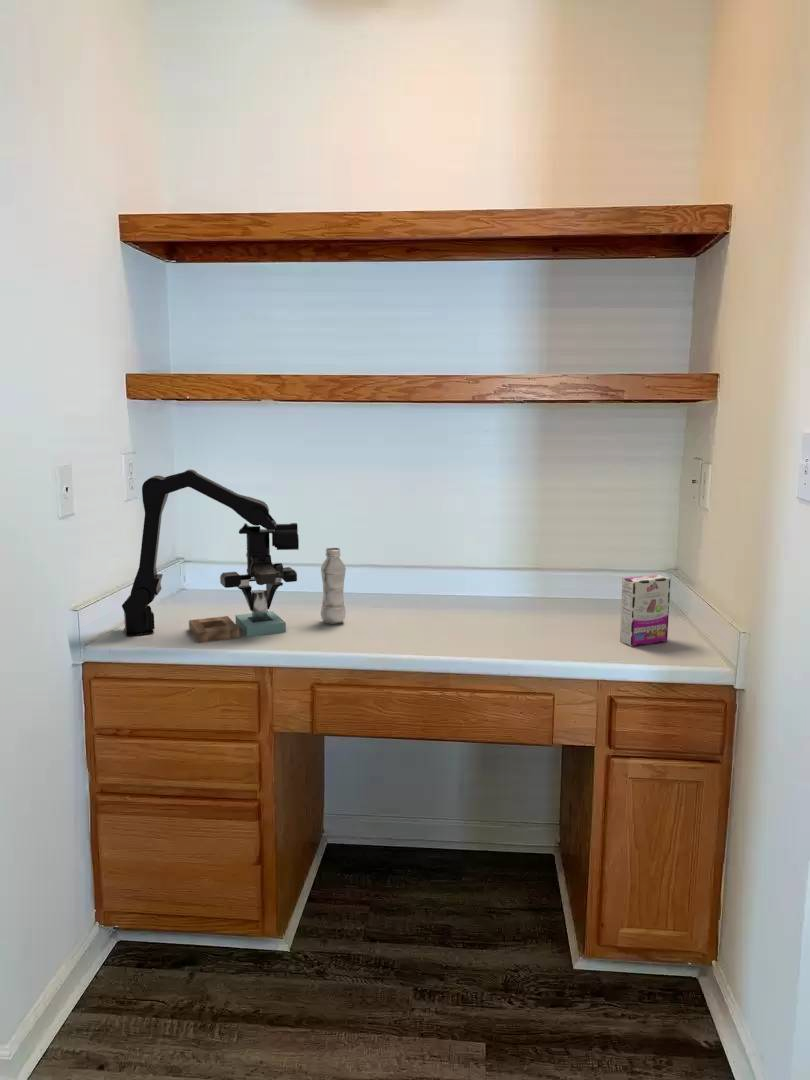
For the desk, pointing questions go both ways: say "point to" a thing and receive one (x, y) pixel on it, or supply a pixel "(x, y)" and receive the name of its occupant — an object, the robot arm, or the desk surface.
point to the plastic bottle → (333, 587)
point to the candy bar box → (645, 610)
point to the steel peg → (259, 606)
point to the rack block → (260, 625)
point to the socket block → (213, 629)
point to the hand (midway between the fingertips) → (259, 609)
